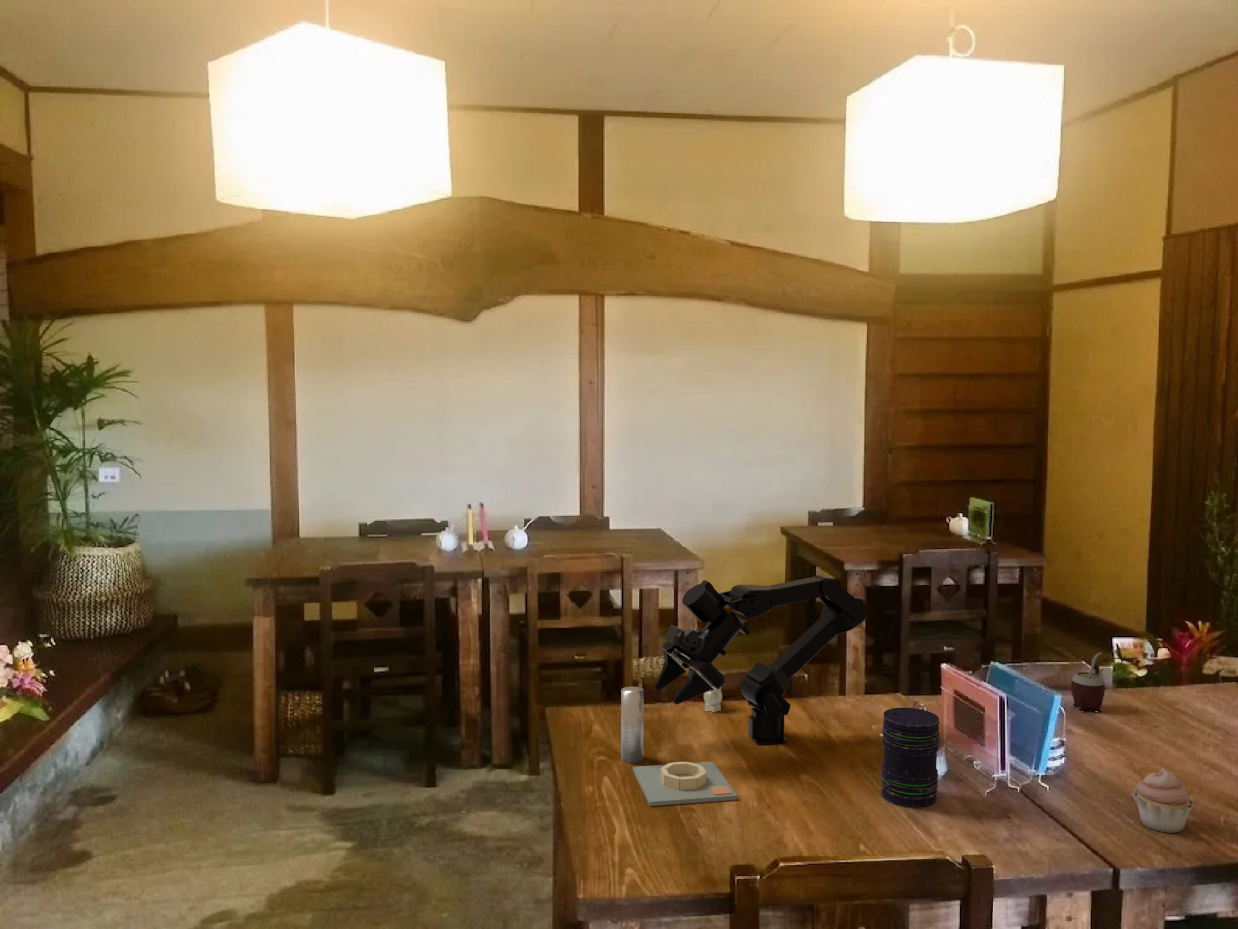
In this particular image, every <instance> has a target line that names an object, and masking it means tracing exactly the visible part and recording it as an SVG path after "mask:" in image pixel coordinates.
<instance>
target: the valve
mask: <svg viewBox="0 0 1238 929" xmlns="http://www.w3.org/2000/svg"><path fill="white" fill-rule="evenodd" d="M712 688H713V689H714V690H713V691H711V690H710V691H708V692H705V693H703V699H704V710H705V712H706V711H712V712H715V711H720V712H721V711H722V709H721V708H722V707H721V706H722V704H721V702H722V700H723V693H722V690H721V689H722V686H721V687H720V689H719V690H717V689H716V688H714V687H713V686H712ZM712 712H711V713H712ZM715 713H716V712H715Z"/></svg>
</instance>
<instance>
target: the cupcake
mask: <svg viewBox="0 0 1238 929" xmlns="http://www.w3.org/2000/svg"><path fill="white" fill-rule="evenodd" d="M1133 791H1134V792H1133V793H1131V795H1132V797H1133V799H1134V801H1135V803H1136V804H1137V808H1138V813H1139V817H1140V821H1141V823H1142V824H1143V825H1144V826H1145V827H1146V828H1149V829H1151V830H1153V831H1158V832H1161V833H1169V834H1170V833H1171V834H1175V833H1180V832H1181V831H1183V830H1184V828H1185V826H1186V823H1187V820H1188V817H1189V816H1188V815H1189V814H1190V812H1191V811H1192V809H1193V808H1194V804H1195V802H1194V801H1193V800H1191V799H1190V797H1189V791H1188V790H1187V787H1186V786H1185V785H1184V784H1183V783H1181V782H1180V780H1179V779H1178V777H1177V776H1176V775H1175V774H1174V773H1173V772H1171V771H1169V770H1168V769H1165V768H1164V767H1162V768H1161V769H1160V771H1159V772H1152V773H1151V772H1150V773H1149V774H1148V775H1147V776H1146V777H1144V778H1143V779H1142V780H1140V781H1139V782H1138V783H1137V785H1136V788H1134V790H1133Z"/></svg>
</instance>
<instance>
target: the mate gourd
mask: <svg viewBox="0 0 1238 929" xmlns="http://www.w3.org/2000/svg"><path fill="white" fill-rule="evenodd" d="M1101 654H1102V651H1100V652H1098V653H1096V654H1095V655H1094V656H1093V657H1092V659H1091V665H1090V669H1089V671H1080V672H1076V673H1075V674H1074V675H1073V676H1072V679H1071V683H1070V691H1071V695H1072V699H1073V704H1072V706H1073V705H1074V706H1076V707H1075V708H1077V707H1080V708H1079V710H1078V712H1079V711H1085V712H1087V711H1088V710H1092V711H1098V712H1101V713H1102V710H1101V707H1102V705H1103V702H1104V696H1105V692H1106V686H1105V681H1104V679H1103V677H1102V676H1101V675H1100V674H1097V673H1093V671H1094V668H1095V664H1096V663H1097V659H1098V657H1099V656H1101ZM1086 710H1087V711H1086ZM1092 711H1091V712H1092Z"/></svg>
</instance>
